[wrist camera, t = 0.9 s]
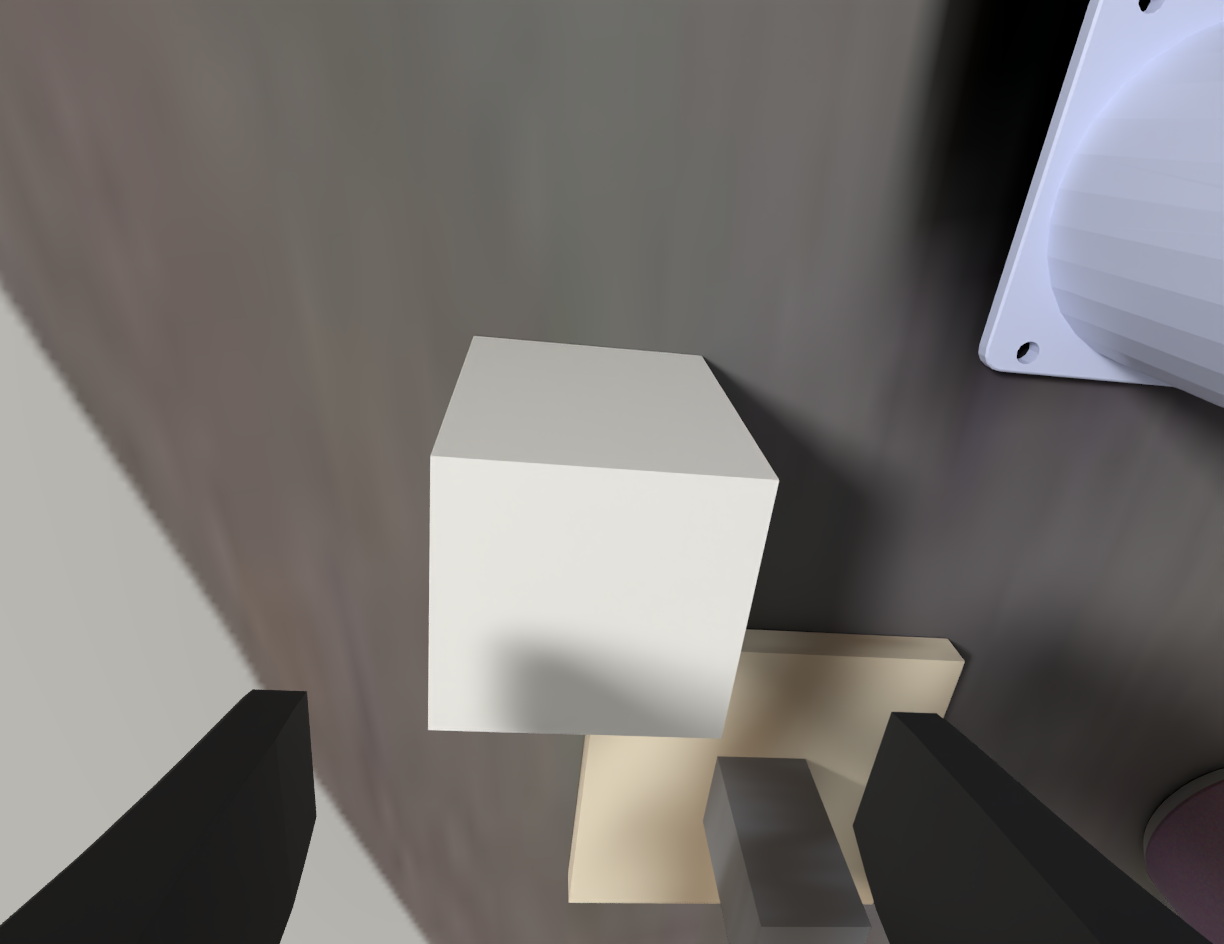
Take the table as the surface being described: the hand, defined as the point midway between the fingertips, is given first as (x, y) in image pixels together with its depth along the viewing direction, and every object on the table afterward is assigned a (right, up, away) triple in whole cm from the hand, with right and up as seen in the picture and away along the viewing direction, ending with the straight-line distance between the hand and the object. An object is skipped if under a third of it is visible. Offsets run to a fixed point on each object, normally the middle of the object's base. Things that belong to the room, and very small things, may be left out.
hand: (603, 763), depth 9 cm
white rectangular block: (-1, +4, +9) cm, 10 cm away
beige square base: (+4, -5, +14) cm, 15 cm away
